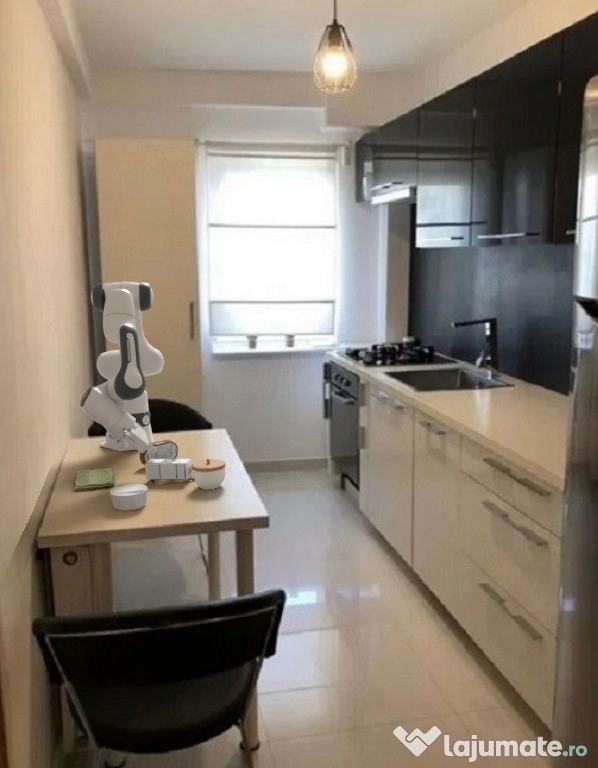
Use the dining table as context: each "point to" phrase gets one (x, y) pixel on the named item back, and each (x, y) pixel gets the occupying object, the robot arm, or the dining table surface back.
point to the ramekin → (129, 497)
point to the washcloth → (93, 479)
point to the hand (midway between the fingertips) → (155, 451)
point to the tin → (160, 451)
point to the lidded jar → (209, 473)
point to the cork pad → (171, 480)
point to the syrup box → (168, 468)
